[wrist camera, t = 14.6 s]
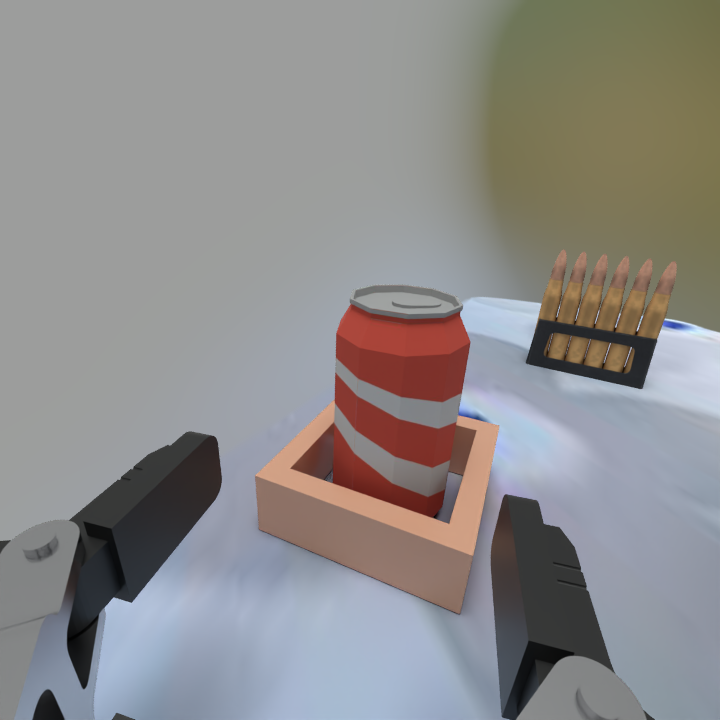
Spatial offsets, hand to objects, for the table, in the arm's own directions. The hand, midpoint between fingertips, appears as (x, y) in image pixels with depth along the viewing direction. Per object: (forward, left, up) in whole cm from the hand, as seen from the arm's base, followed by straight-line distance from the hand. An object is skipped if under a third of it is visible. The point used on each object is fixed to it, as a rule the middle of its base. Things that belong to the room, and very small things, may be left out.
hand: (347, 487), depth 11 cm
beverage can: (-6, -8, -9) cm, 13 cm away
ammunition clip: (-33, -18, -9) cm, 38 cm away
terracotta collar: (-6, -8, -9) cm, 13 cm away
